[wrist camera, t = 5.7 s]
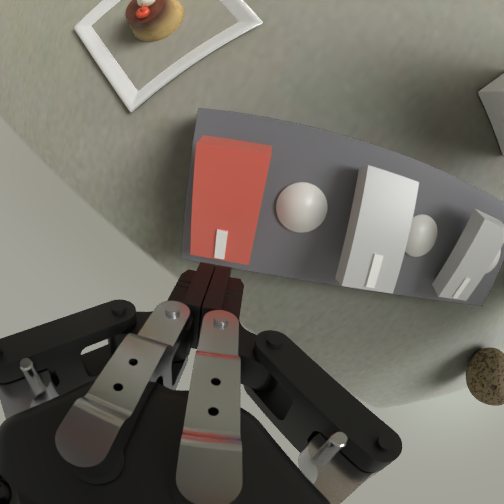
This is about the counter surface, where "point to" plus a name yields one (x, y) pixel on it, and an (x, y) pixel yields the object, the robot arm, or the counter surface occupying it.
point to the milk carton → (495, 107)
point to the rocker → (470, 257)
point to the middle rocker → (377, 230)
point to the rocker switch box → (340, 205)
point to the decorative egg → (487, 376)
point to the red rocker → (227, 197)
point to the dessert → (153, 29)
